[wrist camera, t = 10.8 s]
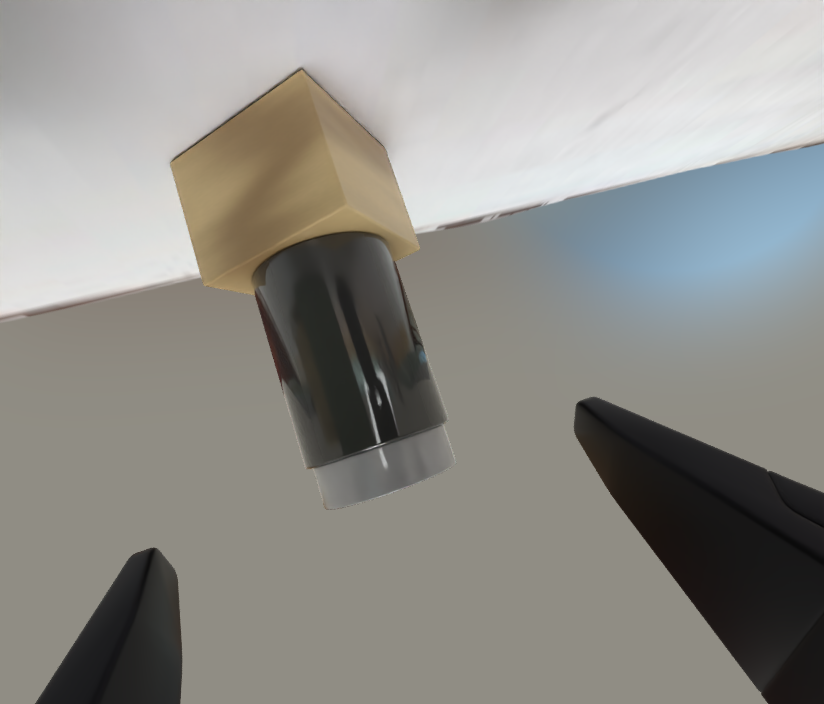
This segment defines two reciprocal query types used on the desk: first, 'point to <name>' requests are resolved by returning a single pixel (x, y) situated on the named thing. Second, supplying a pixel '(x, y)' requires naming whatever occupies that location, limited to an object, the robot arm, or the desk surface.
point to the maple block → (285, 184)
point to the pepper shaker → (352, 367)
